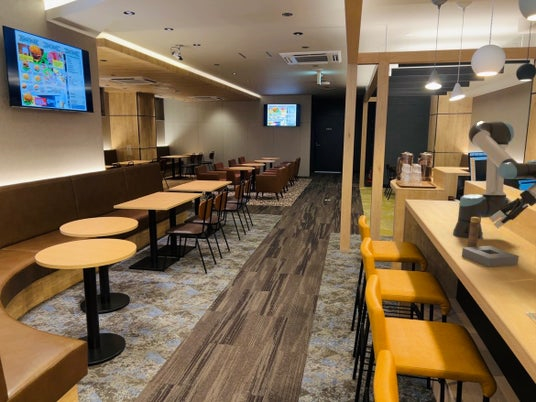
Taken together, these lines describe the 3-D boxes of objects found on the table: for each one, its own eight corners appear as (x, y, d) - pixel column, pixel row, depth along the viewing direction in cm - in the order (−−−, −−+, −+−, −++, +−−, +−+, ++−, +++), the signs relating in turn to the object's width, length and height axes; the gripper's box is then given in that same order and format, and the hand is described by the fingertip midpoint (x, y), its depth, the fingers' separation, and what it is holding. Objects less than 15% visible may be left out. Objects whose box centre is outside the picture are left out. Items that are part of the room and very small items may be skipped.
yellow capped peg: (472, 246, 201) (475, 216, 198) (478, 249, 197) (481, 218, 194) (465, 247, 200) (469, 217, 197) (471, 249, 196) (475, 218, 193)
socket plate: (489, 253, 190) (490, 245, 190) (517, 264, 175) (518, 256, 174) (461, 255, 186) (462, 247, 185) (488, 267, 171) (489, 258, 170)
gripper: (546, 205, 172) (503, 235, 180) (531, 197, 195) (494, 223, 203) (533, 193, 173) (491, 223, 181) (520, 185, 196) (483, 212, 204)
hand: (493, 223), depth 192 cm, fingers open, 13 cm apart
